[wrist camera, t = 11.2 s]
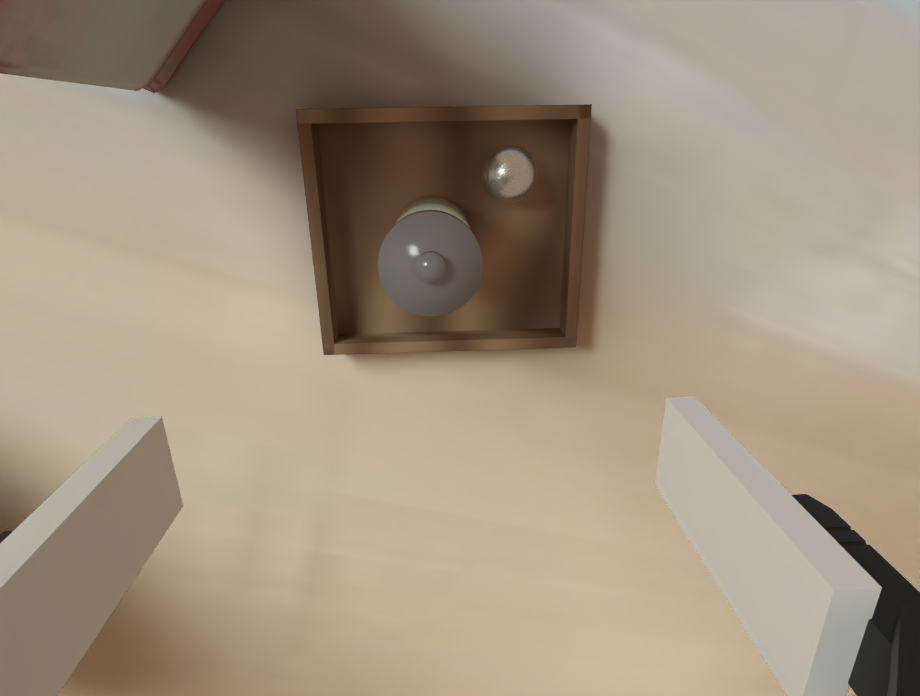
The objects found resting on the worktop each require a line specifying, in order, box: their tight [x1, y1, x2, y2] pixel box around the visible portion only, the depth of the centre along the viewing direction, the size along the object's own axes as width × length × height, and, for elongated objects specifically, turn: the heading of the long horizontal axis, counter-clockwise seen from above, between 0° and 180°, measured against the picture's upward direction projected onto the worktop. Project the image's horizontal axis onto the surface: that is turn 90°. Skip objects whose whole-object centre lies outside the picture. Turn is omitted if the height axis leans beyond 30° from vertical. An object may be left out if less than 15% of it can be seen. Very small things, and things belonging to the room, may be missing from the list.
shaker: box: [378, 196, 483, 317], centre depth 34 cm, size 6×6×11 cm
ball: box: [481, 144, 537, 203], centre depth 36 cm, size 4×4×4 cm
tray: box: [296, 105, 592, 355], centre depth 38 cm, size 18×16×2 cm
